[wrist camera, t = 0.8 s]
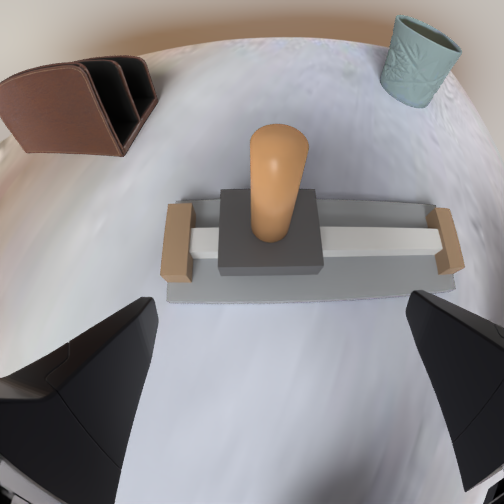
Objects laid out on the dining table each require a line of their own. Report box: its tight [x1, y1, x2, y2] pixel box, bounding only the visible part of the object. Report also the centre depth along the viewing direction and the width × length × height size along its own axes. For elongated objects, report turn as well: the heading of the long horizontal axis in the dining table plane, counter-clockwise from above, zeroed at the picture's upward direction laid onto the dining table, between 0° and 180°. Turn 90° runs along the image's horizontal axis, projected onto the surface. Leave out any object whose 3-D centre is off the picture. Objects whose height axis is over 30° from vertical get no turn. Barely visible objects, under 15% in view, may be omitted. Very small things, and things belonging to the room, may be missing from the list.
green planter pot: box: [381, 15, 462, 108], centre depth 28 cm, size 10×10×12 cm
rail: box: [160, 199, 465, 304], centre depth 23 cm, size 26×9×3 cm, turn 91°
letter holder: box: [0, 55, 158, 157], centre depth 24 cm, size 10×20×14 cm, turn 77°
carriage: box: [218, 124, 324, 276], centre depth 17 cm, size 7×6×10 cm
